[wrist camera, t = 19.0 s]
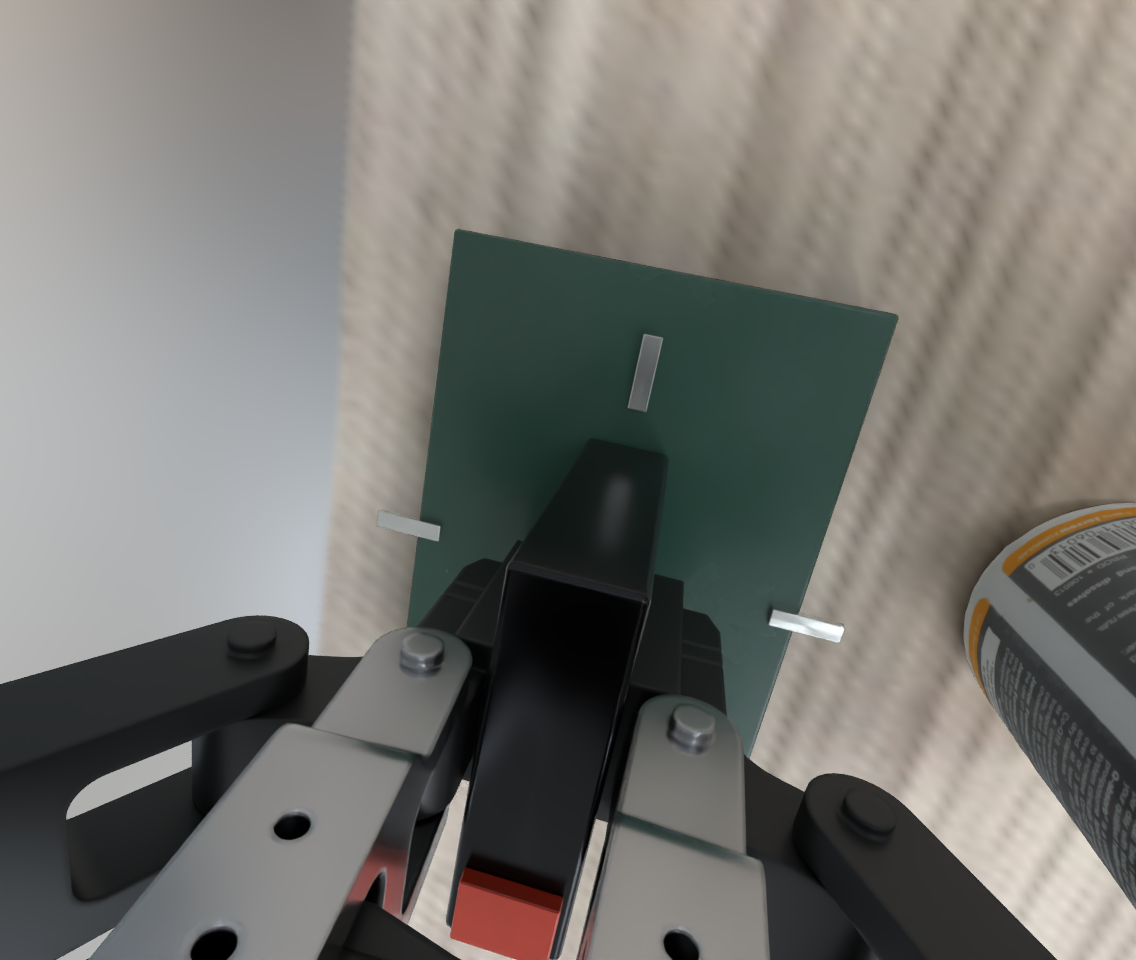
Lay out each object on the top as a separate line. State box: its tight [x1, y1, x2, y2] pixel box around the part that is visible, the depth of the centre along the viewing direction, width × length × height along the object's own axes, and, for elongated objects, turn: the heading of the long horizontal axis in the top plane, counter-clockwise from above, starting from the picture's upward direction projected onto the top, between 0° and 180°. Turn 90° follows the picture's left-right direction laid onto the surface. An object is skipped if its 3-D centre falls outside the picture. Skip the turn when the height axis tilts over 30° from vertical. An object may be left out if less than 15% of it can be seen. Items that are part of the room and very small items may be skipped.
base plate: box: [377, 229, 898, 758], centre depth 15 cm, size 12×10×3 cm
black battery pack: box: [446, 438, 669, 960], centre depth 11 cm, size 6×2×6 cm, turn 169°
